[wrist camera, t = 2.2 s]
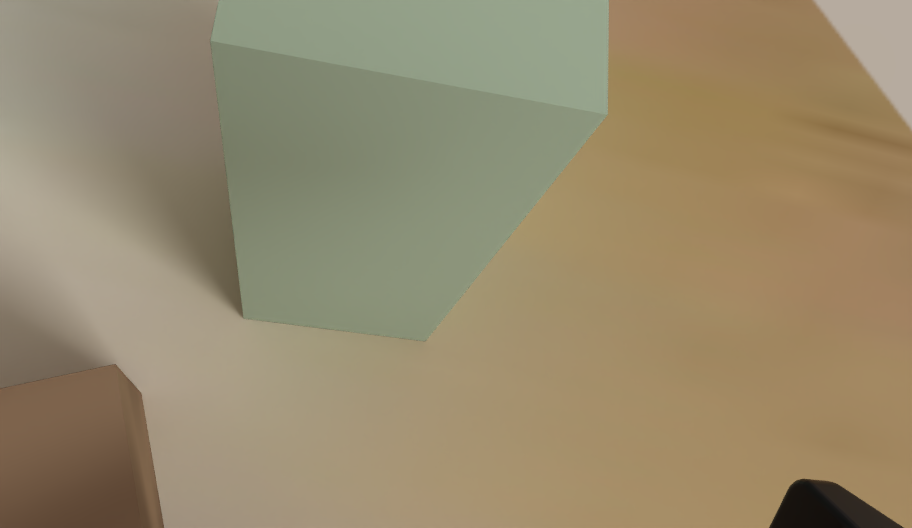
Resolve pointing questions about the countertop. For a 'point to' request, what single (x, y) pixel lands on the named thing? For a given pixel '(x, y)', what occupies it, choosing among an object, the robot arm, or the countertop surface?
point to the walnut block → (76, 454)
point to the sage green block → (394, 145)
